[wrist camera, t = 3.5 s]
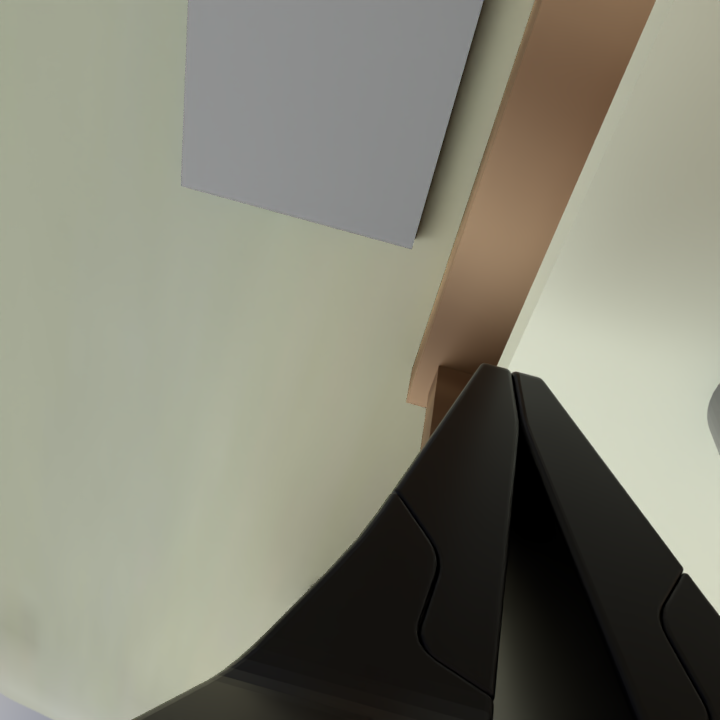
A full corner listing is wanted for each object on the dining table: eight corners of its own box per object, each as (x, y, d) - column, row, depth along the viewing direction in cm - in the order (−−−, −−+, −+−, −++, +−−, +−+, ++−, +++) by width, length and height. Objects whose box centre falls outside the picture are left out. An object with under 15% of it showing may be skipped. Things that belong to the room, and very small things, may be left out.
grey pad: (413, 240, 17) (411, 249, 16) (188, 178, 17) (180, 185, 16) (525, -149, 12) (527, -151, 11) (207, -233, 12) (197, -238, 11)
